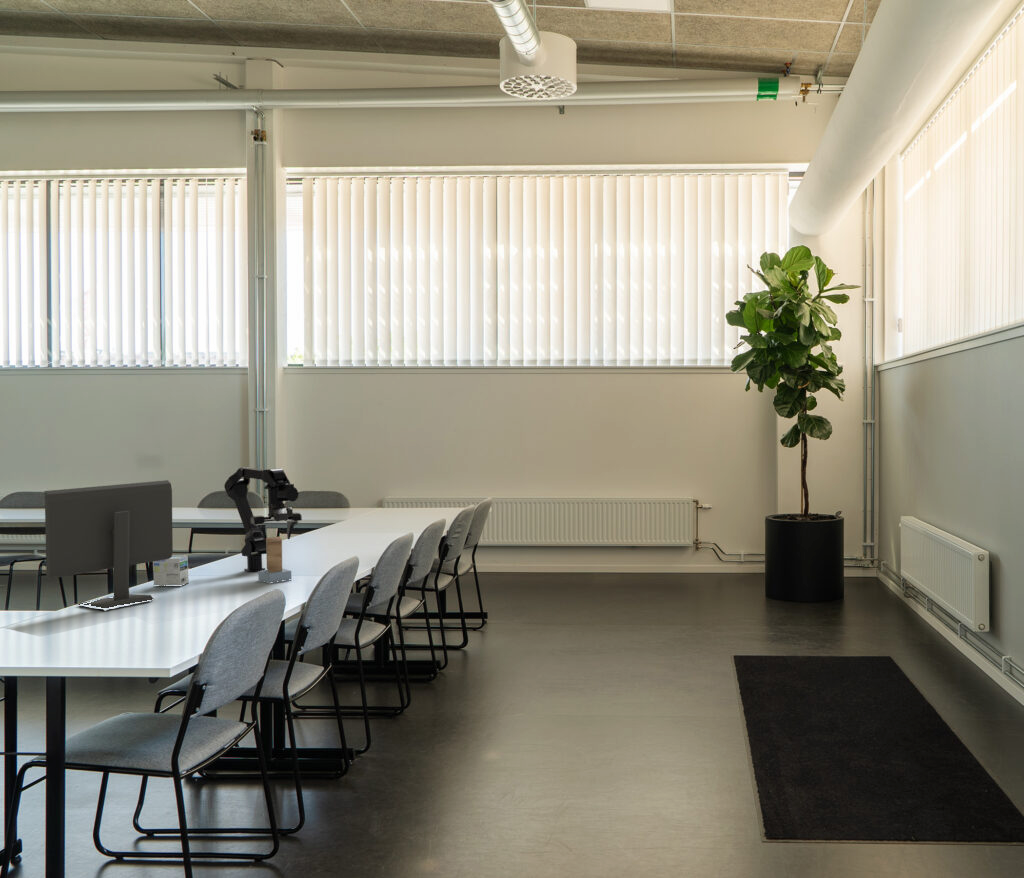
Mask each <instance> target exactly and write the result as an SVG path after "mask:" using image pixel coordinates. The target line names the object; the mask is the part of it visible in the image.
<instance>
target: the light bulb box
mask: <svg viewBox="0 0 1024 878" xmlns="http://www.w3.org/2000/svg"><path fill="white" fill-rule="evenodd" d="M188 559H189V558H188V555H172V557H171V558H169V559H165V560H159V561H153V562H152V571H153V575H152V576H153V586H154V585H159V586H164V585H165V586H166V585H183V584H186V583H188V582H189V581H190V580H189V562H188ZM189 583H190V582H189ZM186 585H187V584H186Z"/></svg>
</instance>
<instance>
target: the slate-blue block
mask: <svg viewBox="0 0 1024 878" xmlns="http://www.w3.org/2000/svg"><path fill="white" fill-rule="evenodd" d="M257 574H258V575H257V578H258V580H260V581H259V582H261V581H265V582H268V583H270V582H277V581H282V580H289V579H292V570H289V569H286V568H282V571H279V572H268V570H267V569H266V570H260V571H257ZM265 582H264V583H265ZM268 583H267V584H268ZM277 583H278V582H277Z"/></svg>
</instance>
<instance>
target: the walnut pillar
mask: <svg viewBox="0 0 1024 878" xmlns="http://www.w3.org/2000/svg"><path fill="white" fill-rule="evenodd" d="M265 555H266V570H268V572H279V571H282V569H283V540H282V537H281V536H271V537H267V538H266V554H265Z"/></svg>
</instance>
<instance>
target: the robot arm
mask: <svg viewBox="0 0 1024 878" xmlns="http://www.w3.org/2000/svg"><path fill="white" fill-rule="evenodd" d="M251 479H255V480H261V481H262V482H263V483H265V484H266V485H265V486H264V487H263V488H264V490H267V506H268V508H267V509H268V513H267V516H264V515H254V513H253V511H252V509H251V506H250V503H249V500H248V497H247V496H248V492H249V488H248V486H249V485H250V483H251ZM223 486H224V491H225V493H226V495H227V496H228V497H229V498H230V499H231V500H233V501H234V504H235V507H236V509H237V512H238V515H239V517H240V520H241V523H242V525H243V529H244V531H245V535H244V536H245V537H244V546H243V548H242V549H241V550H240V553H241V556H242V557H246V560H247V561H246V563H247V565H246V566H247V568H244V569H243V570H244V571H247V572H251V573H252V572H253V573H254V572H258V571H259V570H260V571H263V570H265V569H266V570H267V567H266V568H265V567H263V556H262V555H267V554H266V538H268V537H267V536H268V535H267V532H266V524H265V522H266V523H267V522H282V521H285V522H286V537H287V540H290V539H291V536H292V532H293V529H294V527H295V525H296V524H298V523H299V522H300V521H302V520H303V517H302V514H301V513H299V512H294V511H293V508H292V507H285V503H284V502H296V501H297V500H298V498H299V491H298V488H296V487H294V486H295V484H294V483H291V482H290V480H289V478H288V476H287V475H286V473H285V471H284V469H283V468H270V469H269V468H268V469H263V468H262V469H261V468H254V467H250V466H246V467H244V466H243V467H240V468H238V469H237V470H236V472H234V473H233V474H232V475H230V476H228V478H227V480H226V481H225V483H224V484H223Z"/></svg>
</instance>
